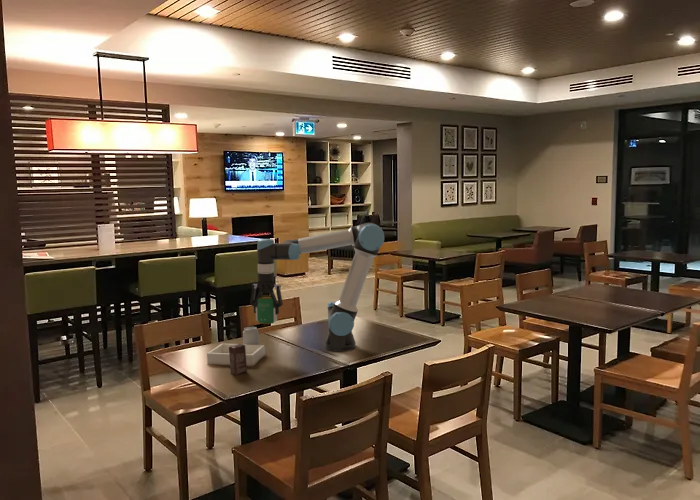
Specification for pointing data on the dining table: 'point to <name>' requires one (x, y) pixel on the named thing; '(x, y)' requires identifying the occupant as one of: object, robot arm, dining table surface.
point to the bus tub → (222, 356)
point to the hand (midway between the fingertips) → (266, 320)
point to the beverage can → (265, 310)
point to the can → (251, 336)
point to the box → (237, 359)
